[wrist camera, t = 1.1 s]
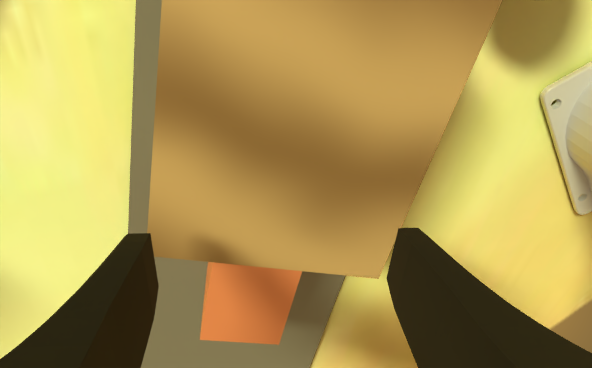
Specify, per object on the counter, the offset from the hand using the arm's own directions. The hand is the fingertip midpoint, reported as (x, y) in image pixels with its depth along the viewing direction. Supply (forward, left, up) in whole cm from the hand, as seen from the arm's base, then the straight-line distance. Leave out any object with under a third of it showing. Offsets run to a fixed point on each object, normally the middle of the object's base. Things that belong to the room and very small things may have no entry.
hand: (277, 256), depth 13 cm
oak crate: (+2, -2, -10) cm, 10 cm away
